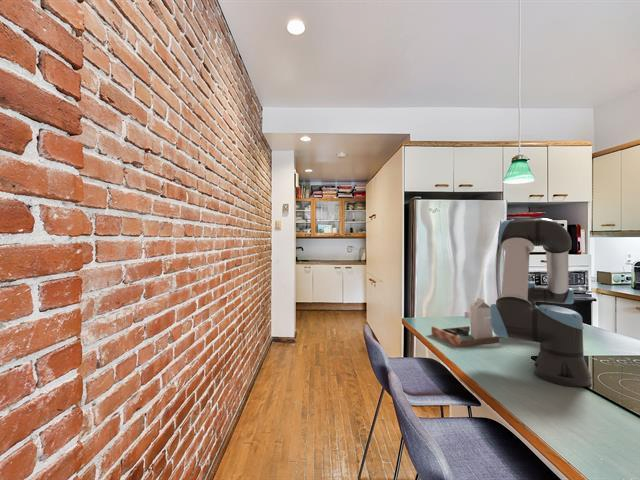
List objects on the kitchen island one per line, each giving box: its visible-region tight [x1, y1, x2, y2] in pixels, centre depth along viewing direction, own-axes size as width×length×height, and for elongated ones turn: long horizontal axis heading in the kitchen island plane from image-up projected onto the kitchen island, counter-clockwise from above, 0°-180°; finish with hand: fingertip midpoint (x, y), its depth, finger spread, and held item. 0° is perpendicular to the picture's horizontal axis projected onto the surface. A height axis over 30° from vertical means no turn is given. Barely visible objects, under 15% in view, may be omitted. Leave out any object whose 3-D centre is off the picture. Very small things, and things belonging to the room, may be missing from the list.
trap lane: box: [431, 325, 500, 348], centre depth 145 cm, size 19×22×4 cm
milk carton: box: [469, 296, 494, 339], centre depth 145 cm, size 7×7×19 cm
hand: (474, 318), depth 144 cm, fingers open, 11 cm apart
